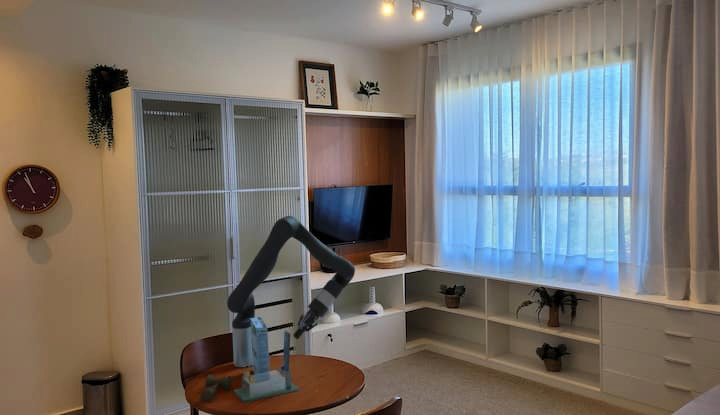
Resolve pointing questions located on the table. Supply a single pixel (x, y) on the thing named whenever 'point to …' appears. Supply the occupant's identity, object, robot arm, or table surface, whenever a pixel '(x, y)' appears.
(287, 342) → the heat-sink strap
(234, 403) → the table surface
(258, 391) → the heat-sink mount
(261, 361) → the gum box
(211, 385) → the kendama
